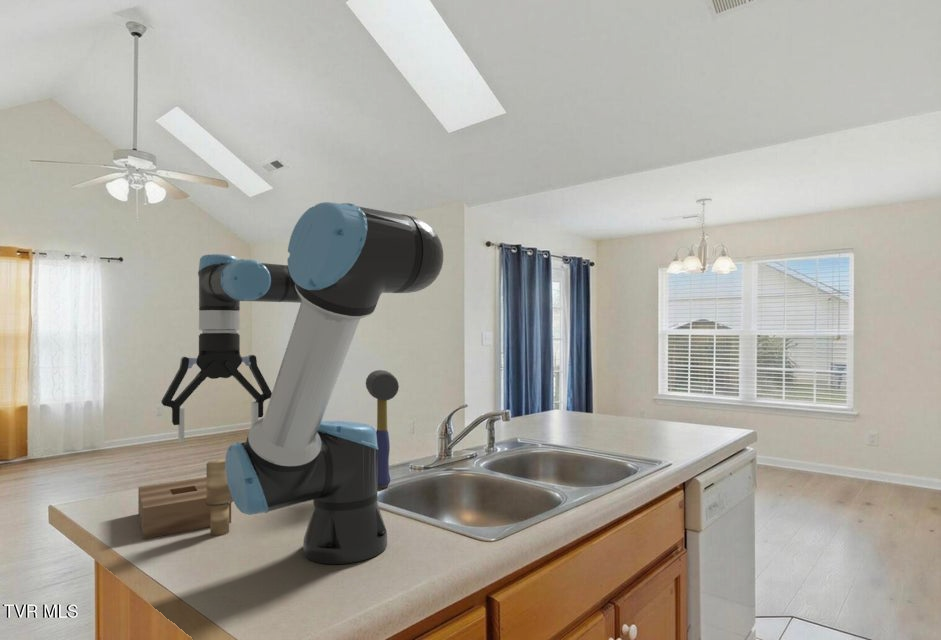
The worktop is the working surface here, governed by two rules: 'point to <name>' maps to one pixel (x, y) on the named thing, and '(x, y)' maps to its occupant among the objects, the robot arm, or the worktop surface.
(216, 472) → the peg
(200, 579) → the worktop surface
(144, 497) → the socket block
